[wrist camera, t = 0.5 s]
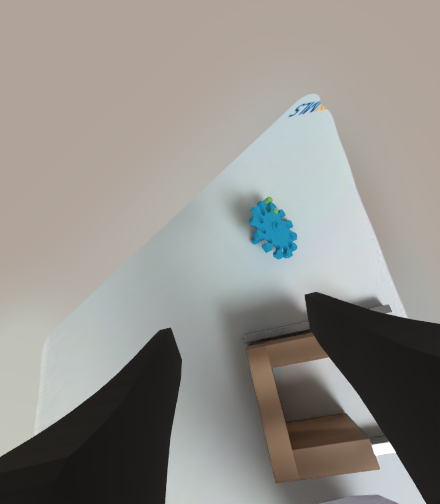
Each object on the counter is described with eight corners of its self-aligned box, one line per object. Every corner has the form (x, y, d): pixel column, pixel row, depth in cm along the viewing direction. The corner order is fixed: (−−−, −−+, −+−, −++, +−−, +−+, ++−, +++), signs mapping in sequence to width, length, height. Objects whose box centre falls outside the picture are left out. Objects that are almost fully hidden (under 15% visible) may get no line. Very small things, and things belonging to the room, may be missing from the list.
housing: (353, 436, 27) (380, 469, 21) (272, 448, 28) (275, 483, 22) (317, 330, 32) (331, 332, 26) (248, 344, 33) (245, 350, 27)
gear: (305, 262, 34) (258, 246, 29) (277, 273, 38) (232, 261, 33) (294, 206, 38) (252, 184, 33) (270, 221, 43) (229, 204, 38)
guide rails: (443, 437, 26) (453, 444, 24) (272, 462, 28) (272, 469, 27) (383, 305, 31) (388, 304, 30) (243, 334, 34) (242, 335, 32)
